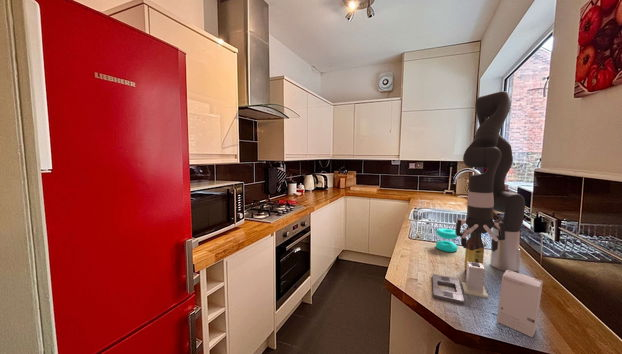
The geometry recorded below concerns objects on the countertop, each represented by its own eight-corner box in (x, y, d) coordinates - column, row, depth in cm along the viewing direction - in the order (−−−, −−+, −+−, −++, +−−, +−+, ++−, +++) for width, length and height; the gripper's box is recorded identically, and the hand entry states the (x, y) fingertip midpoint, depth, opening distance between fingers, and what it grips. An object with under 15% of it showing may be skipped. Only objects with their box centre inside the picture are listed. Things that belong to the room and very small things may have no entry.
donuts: (432, 228, 128) (446, 226, 131) (431, 246, 129) (445, 244, 132) (448, 234, 118) (463, 232, 122) (447, 254, 119) (462, 251, 122)
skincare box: (496, 322, 71) (499, 274, 69) (502, 313, 74) (505, 268, 73) (535, 339, 64) (539, 286, 63) (539, 329, 68) (543, 279, 66)
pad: (483, 288, 89) (483, 286, 89) (488, 298, 82) (488, 296, 82) (461, 283, 92) (461, 281, 92) (464, 293, 85) (464, 291, 85)
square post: (480, 286, 88) (481, 263, 87) (483, 293, 84) (484, 268, 83) (465, 284, 90) (467, 260, 89) (467, 290, 86) (469, 265, 85)
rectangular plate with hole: (458, 281, 93) (458, 278, 93) (464, 304, 79) (464, 300, 79) (432, 276, 97) (432, 273, 97) (433, 297, 83) (433, 294, 83)
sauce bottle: (476, 278, 95) (479, 230, 94) (460, 272, 101) (463, 226, 99) (485, 274, 98) (488, 227, 96) (469, 268, 104) (472, 224, 102)
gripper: (501, 203, 84) (500, 247, 86) (455, 201, 90) (454, 242, 91) (509, 208, 77) (506, 256, 79) (458, 205, 83) (456, 250, 85)
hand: (478, 248), depth 85 cm, fingers open, 8 cm apart
